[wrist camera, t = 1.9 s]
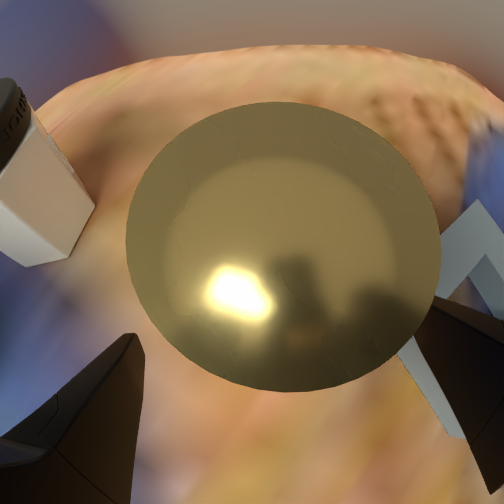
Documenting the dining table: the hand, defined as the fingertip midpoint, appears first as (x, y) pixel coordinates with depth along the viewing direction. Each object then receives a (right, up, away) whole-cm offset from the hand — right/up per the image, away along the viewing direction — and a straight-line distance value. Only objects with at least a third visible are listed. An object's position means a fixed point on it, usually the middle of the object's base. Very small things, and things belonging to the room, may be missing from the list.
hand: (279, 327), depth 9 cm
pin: (0, -2, +9) cm, 9 cm away
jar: (-17, +5, +12) cm, 22 cm away
